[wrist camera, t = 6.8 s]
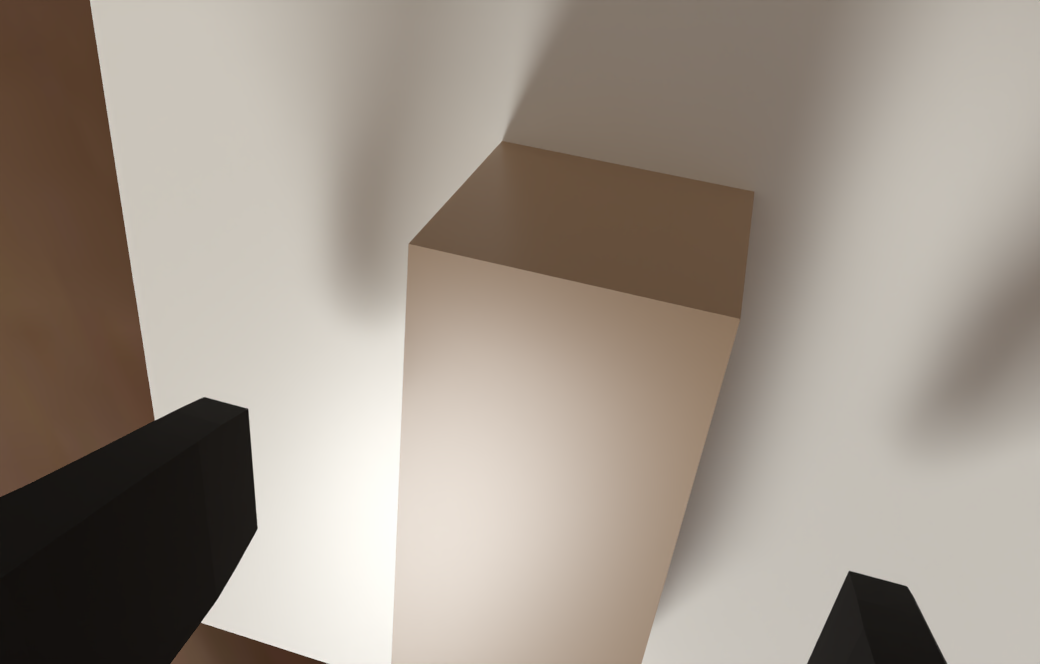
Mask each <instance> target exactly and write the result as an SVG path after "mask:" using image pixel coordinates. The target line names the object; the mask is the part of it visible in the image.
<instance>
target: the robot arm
mask: <svg viewBox="0 0 1040 664" xmlns="http://www.w3.org/2000/svg"><path fill="white" fill-rule="evenodd" d="M257 529H258V526H257V513H256V500H255V488H254V475H253V462H252V449H251V436H250V424H249V411H248V409H247V408H244V407H240V406H236V405H232V404H229V403H225V402H221V401H218V400H214V399H210V398H206V397H203V398H201V399H198V400H196V401H194V402H192V403H190V404H187V405H185V406H183V407H181V408H179V409H177V410H175V411H173V412H171V413H169V414H167V415H165V416H163V417H161V418H159V419H157V420H155V421H153V422H151V423H149V424H147V425H145V426H143V427H141V428H139V429H137V430H135V431H133V432H132V433H130V434H128V435H126V436H124V437H122V438H120V439H118V440H116V441H114V442H112V443H110V444H108V445H106V446H104V447H102V448H100V449H98V450H96V451H94V452H92V453H90V454H88V455H86V456H84V457H82V458H80V459H78V460H76V461H74V462H72V463H70V464H68V465H66V466H64V467H62V468H60V469H58V470H56V471H54V472H52V473H50V474H48V475H46V476H44V477H42V478H40V479H38V480H36V481H34V482H32V483H30V484H28V485H26V486H24V487H22V488H19V489H17V490H15V491H13V492H11V493H8V494H6V495H4V496H2V497H0V664H170V663H171V662H172V660H173V659H174V658H175V657H176V655H177V654H178V652H179V651H180V650H181V648H182V647H183V646H184V644H185V643H186V642H187V640H188V639H189V638H190V636H191V635H192V634H193V632H194V631H195V630H196V628H197V627H198V626H199V624H200V623H201V622H202V620H203V619H204V618H205V616H206V615H207V613H208V612H209V611H210V609H211V608H212V607H213V605H214V604H215V602H216V601H217V600H218V598H219V596H220V594H221V593H222V591H223V589H224V588H225V586H226V584H227V583H228V581H229V579H230V578H231V576H232V574H233V573H234V571H235V569H236V567H237V566H238V564H239V562H240V560H241V558H242V557H243V555H244V553H245V551H246V549H247V548H248V546H249V544H250V542H251V540H252V538H253V537H254V535H255V533H256V531H257ZM807 664H947V662H946V660H945V658H944V656H943V654H942V652H941V650H940V648H939V646H938V644H937V642H936V640H935V638H934V636H933V634H932V632H931V630H930V628H929V626H928V624H927V622H926V620H925V618H924V616H923V614H922V612H921V610H920V608H919V606H918V604H917V602H916V600H915V598H914V596H913V595H912V593H911V592H910V590H909V588H908V587H907V586H904V585H901V584H897V583H893V582H890V581H886V580H882V579H878V578H875V577H871V576H867V575H864V574H860V573H856V572H852V571H849V572H848V574H847V576H846V578H845V580H844V583H843V585H842V587H841V589H840V592H839V594H838V596H837V598H836V600H835V603H834V605H833V607H832V609H831V612H830V614H829V616H828V618H827V620H826V623H825V625H824V627H823V629H822V632H821V634H820V636H819V638H818V640H817V643H816V645H815V647H814V649H813V652H812V654H811V656H810V658H809V660H808V663H807Z"/></svg>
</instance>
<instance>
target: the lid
mask: <svg viewBox="0 0 1040 664" xmlns="http://www.w3.org/2000/svg"><path fill="white" fill-rule="evenodd" d="M90 4H91V10H92V17H93V23H94V30H95V36H96V43H97V49H98V55H99V62H100V68H101V75H102V81H103V88H104V94H105V101H106V107H107V114H108V120H109V127H110V133H111V139H112V146H113V152H114V159H115V165H116V172H117V178H118V185H119V191H120V198H121V204H122V211H123V217H124V223H125V230H126V236H127V243H128V249H129V256H130V262H131V269H132V275H133V282H134V288H135V294H136V301H137V307H138V314H139V320H140V327H141V333H142V340H143V346H144V353H145V359H146V366H147V372H148V378H149V385H150V391H151V398H152V404H153V411H154V417H155V420H157V419H159V418H161V417H163V416H165V415H167V414H169V413H171V412H173V411H175V410H177V409H179V408H181V407H183V406H185V405H187V404H190V403H192V402H194V401H196V400H198V399H201V398H203V397H206V398H210V399H214V400H218V401H221V402H225V403H229V404H232V405H236V406H240V407H244V408H247V409H248V411H249V424H250V436H251V449H252V462H253V475H254V488H255V500H256V513H257V526H258V529H257V531H256V533H255V535H254V537H253V538H252V540H251V542H250V544H249V546H248V548H247V549H246V551H245V553H244V555H243V557H242V558H241V560H240V562H239V564H238V566H237V567H236V569H235V571H234V573H233V574H232V576H231V578H230V579H229V581H228V583H227V584H226V586H225V588H224V589H223V591H222V593H221V594H220V596H219V598H218V600H217V601H216V602H215V604H214V605H213V607H212V608H211V609H210V611H209V612H208V613H207V615H206V616H205V618H204V619H203V620H202V622H201V623H204V624H207V625H210V626H213V627H216V628H220V629H223V630H226V631H229V632H232V633H235V634H238V635H241V636H244V637H248V638H251V639H254V640H257V641H260V642H263V643H266V644H269V645H272V646H276V647H279V648H282V649H285V650H288V651H291V652H294V653H297V654H301V655H304V656H307V657H310V658H313V659H316V660H319V661H322V662H325V663H329V664H807V663H808V660H809V658H810V656H811V654H812V652H813V649H814V647H815V645H816V643H817V640H818V638H819V636H820V634H821V632H822V629H823V627H824V625H825V623H826V620H827V618H828V616H829V614H830V612H831V609H832V607H833V605H834V603H835V600H836V598H837V596H838V594H839V592H840V589H841V587H842V585H843V583H844V580H845V578H846V576H847V574H848V572H849V571H852V572H856V573H860V574H864V575H867V576H871V577H875V578H878V579H882V580H886V581H890V582H893V583H897V584H901V585H904V586H907V587H908V588H909V590H910V592H911V593H912V595H913V596H914V598H915V600H916V602H917V604H918V606H919V608H920V610H921V612H922V614H923V616H924V618H925V620H926V622H927V624H928V626H929V628H930V630H931V632H932V634H933V636H934V638H935V640H936V642H937V644H938V646H939V648H940V650H941V652H942V654H943V656H944V658H945V660H946V662H947V664H1040V0H90Z"/></svg>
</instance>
